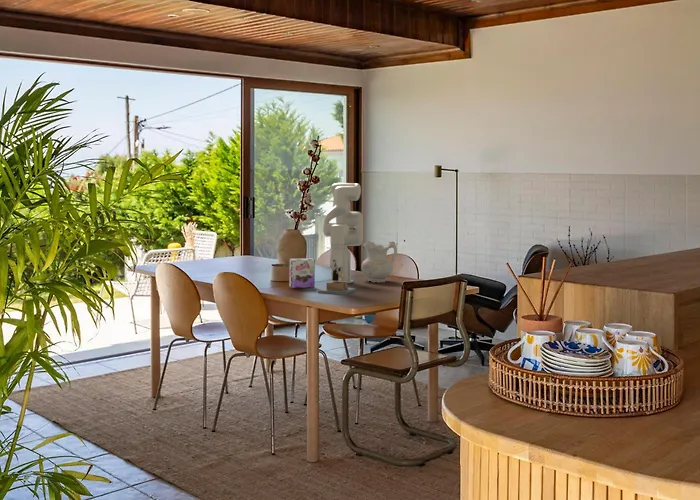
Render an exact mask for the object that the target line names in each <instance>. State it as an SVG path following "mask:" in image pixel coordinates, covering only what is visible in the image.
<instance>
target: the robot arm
mask: <svg viewBox="0 0 700 500" xmlns="http://www.w3.org/2000/svg"><path fill="white" fill-rule="evenodd" d="M361 188H362V187H361V185H360V183H355V182H353V183H352V182H336V183H333V184H331V186H330V193H331V194H332V197H333V198H332V201H333V202H332V208H331V209H330V210H329V211H328V212H327V213H326V215H325V217H324V219H323V228H322V231H323V235H324V236H325V237H329V238H330V255H329V256H330V258H329V260H330V261H329V268H331V270H332V271H331V272H332V273H333V281H338V271H343V281H347V282H348V284H353V283H354V280H353V279H351V277H352V274H351V266H352V265H351V264H352V263H351V255H352V254H351V251H350V249H349V248H348V247H349V246H351V247H353V246H354V247H356V246H357V247H358V246H362V244H363V242H364V221H363V220H364V218H363V217H364V216H363V214H362V212H360V211H351V202H350V201H353V202H354V201H355V202H356V201H357V202H358V200H359V199H360V197H361V193H362V189H361ZM333 219H335V222H331V221H332V220H333ZM350 228H353V229H350Z"/></svg>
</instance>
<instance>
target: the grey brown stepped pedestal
mask: <svg viewBox="0 0 700 500" xmlns="http://www.w3.org/2000/svg"><path fill="white" fill-rule="evenodd" d="M348 285H349V283H348V282H347V281H331V280H330V281H327V282H326V287H324V288H323V287H322V288H321V289H318V290H317V292H318V294H329V295H330V294H331V295H349V294H351V293H354V292H356V287H348Z"/></svg>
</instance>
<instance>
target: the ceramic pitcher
mask: <svg viewBox="0 0 700 500" xmlns="http://www.w3.org/2000/svg"><path fill="white" fill-rule="evenodd" d="M388 243H389V244H388V246H383V245H382V244H375V242H374V241H365V242H364V243H362V244H363V245H362V246H363V247H364V248H365V249H366V250H367V255H368V256H367V258H366V259H364V260H363V261H362V263H361V271H362V274H363V275H364V276H365V277H366V278H368V280H367V282H369V281H371V282H370V283H375V282H377V283H386V282H385V281H387V280H386V279H387V278H389V277H390V276H391V275H392V273H393V271H394V261H395V260H396V258H397V255H398V247H397V245H396V243H395V241H388ZM392 248H393V254H392V255H391V260H390V259H389V258H388V251H389V249H392Z"/></svg>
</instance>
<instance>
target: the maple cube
mask: <svg viewBox="0 0 700 500" xmlns="http://www.w3.org/2000/svg"><path fill="white" fill-rule="evenodd" d="M330 275H331V277H330V278H331V280H330V281H333V273H332V271H331V274H330ZM338 281H343V271H338Z"/></svg>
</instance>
